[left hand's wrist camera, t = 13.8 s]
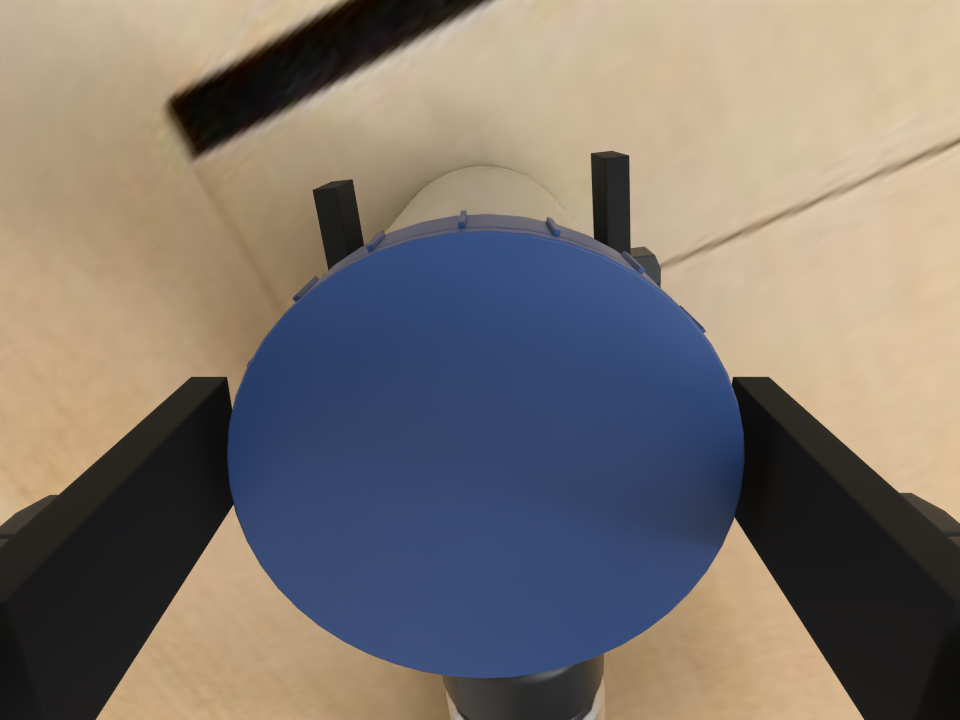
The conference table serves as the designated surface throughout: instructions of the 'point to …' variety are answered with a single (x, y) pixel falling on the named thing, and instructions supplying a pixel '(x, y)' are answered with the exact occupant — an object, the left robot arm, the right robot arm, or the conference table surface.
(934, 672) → the left robot arm
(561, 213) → the jar
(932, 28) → the conference table surface
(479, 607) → the lid
